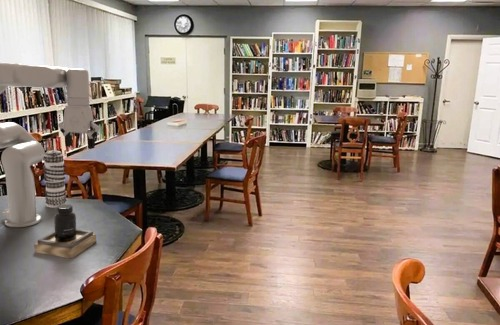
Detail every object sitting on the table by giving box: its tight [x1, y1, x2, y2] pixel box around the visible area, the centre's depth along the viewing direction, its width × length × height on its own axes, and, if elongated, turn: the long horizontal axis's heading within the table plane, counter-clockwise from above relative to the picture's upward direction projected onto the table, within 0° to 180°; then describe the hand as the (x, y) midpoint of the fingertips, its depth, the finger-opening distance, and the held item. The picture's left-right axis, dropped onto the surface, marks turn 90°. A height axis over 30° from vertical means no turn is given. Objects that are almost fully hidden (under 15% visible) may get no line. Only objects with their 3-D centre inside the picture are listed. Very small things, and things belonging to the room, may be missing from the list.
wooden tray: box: [33, 228, 97, 259], centre depth 134 cm, size 14×14×4 cm
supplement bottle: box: [54, 203, 77, 242], centre depth 132 cm, size 7×7×12 cm
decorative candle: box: [42, 150, 67, 209], centre depth 172 cm, size 9×9×25 cm
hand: (80, 147), depth 145 cm, fingers open, 9 cm apart
